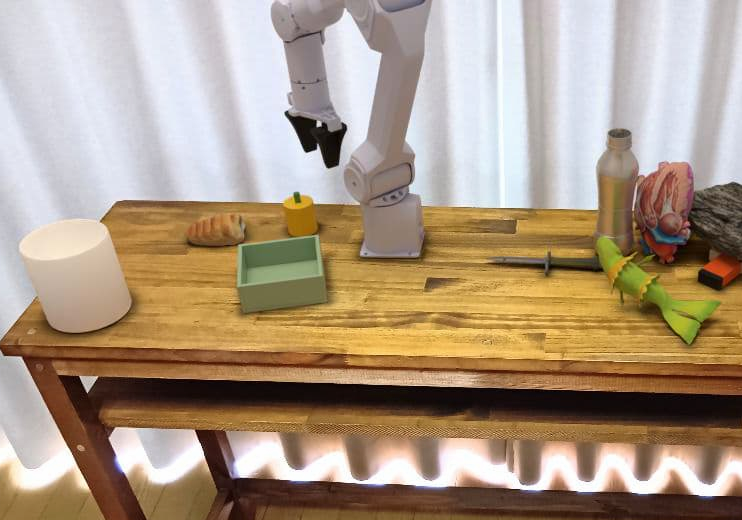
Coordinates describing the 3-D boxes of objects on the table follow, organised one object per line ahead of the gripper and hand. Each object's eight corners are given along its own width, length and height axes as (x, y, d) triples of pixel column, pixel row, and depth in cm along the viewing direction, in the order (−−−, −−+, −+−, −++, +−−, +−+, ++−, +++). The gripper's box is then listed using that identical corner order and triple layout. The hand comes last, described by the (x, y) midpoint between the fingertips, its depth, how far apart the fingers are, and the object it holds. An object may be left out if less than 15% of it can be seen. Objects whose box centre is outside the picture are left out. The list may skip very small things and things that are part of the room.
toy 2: (728, 300, 133) (784, 254, 140) (731, 279, 130) (787, 233, 138) (686, 281, 137) (743, 237, 144) (688, 261, 135) (745, 217, 142)
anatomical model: (646, 165, 142) (632, 261, 144) (627, 158, 138) (613, 257, 139) (708, 167, 135) (692, 267, 137) (690, 160, 131) (674, 263, 133)
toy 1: (582, 244, 128) (574, 290, 133) (700, 305, 119) (687, 351, 124) (615, 226, 133) (606, 270, 138) (730, 283, 124) (717, 328, 129)
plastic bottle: (639, 247, 143) (648, 127, 131) (625, 268, 139) (633, 146, 126) (600, 240, 145) (606, 120, 133) (585, 260, 141) (590, 139, 128)
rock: (736, 200, 145) (732, 167, 141) (801, 239, 134) (800, 204, 130) (674, 232, 143) (669, 198, 139) (735, 274, 131) (732, 239, 127)
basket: (323, 260, 143) (318, 234, 140) (327, 302, 133) (323, 275, 130) (244, 270, 141) (238, 244, 138) (243, 313, 131) (236, 286, 129)
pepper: (320, 222, 152) (314, 186, 148) (314, 237, 148) (307, 199, 144) (292, 222, 152) (285, 185, 148) (285, 237, 148) (278, 199, 144)
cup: (36, 309, 133) (6, 237, 126) (112, 280, 139) (88, 210, 132) (65, 343, 126) (35, 269, 119) (145, 311, 132) (121, 239, 125)
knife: (485, 257, 143) (480, 274, 139) (485, 245, 141) (479, 262, 137) (604, 262, 140) (602, 279, 136) (605, 251, 139) (603, 268, 135)
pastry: (186, 252, 145) (180, 231, 143) (188, 232, 150) (182, 211, 148) (246, 244, 147) (241, 223, 144) (246, 224, 152) (241, 204, 150)
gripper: (264, 70, 144) (280, 150, 152) (306, 97, 135) (320, 181, 143) (304, 60, 147) (317, 139, 155) (348, 85, 138) (359, 168, 146)
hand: (321, 158), depth 150 cm, fingers open, 7 cm apart
